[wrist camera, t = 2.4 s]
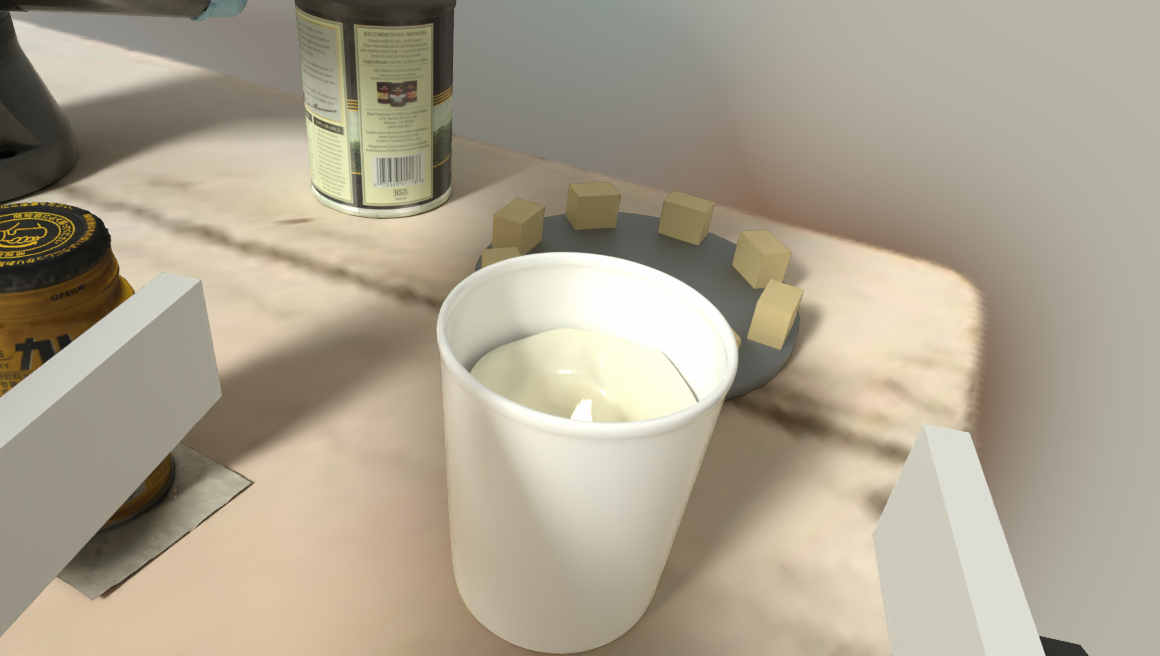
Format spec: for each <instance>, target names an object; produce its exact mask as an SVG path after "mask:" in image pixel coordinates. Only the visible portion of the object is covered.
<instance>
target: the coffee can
mask: <svg viewBox="0 0 1160 656" xmlns="http://www.w3.org/2000/svg"><path fill="white" fill-rule="evenodd" d="M455 6H456V0H295V8H296V19H297V29H298V41H299V51H300V61H301V72H302V82H303V94H304V106H305V116H306V127H307V138H308V149H309V159H310V170H311V191H312V193H313V195H314V196H315V198H316V199H317V200H319V201H320V202H321V203H322V204H324V205H326V206H327V207H329V208H332V209H335V210H337V211H340V212H343V213H346V214H350V215H357V216H361V217H369V218H397V217H406V216H411V215H416V214H420V213H423V212H426V211H430V210H432V209H434V208H436V207H438V206H440V205H441V204H443V203H444V202H445V201H446V200H447V199H448V198H449V196H450V195H451V192H452V183H451V150H452V149H451V142H452V82H453V29H454V8H455Z"/></svg>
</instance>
